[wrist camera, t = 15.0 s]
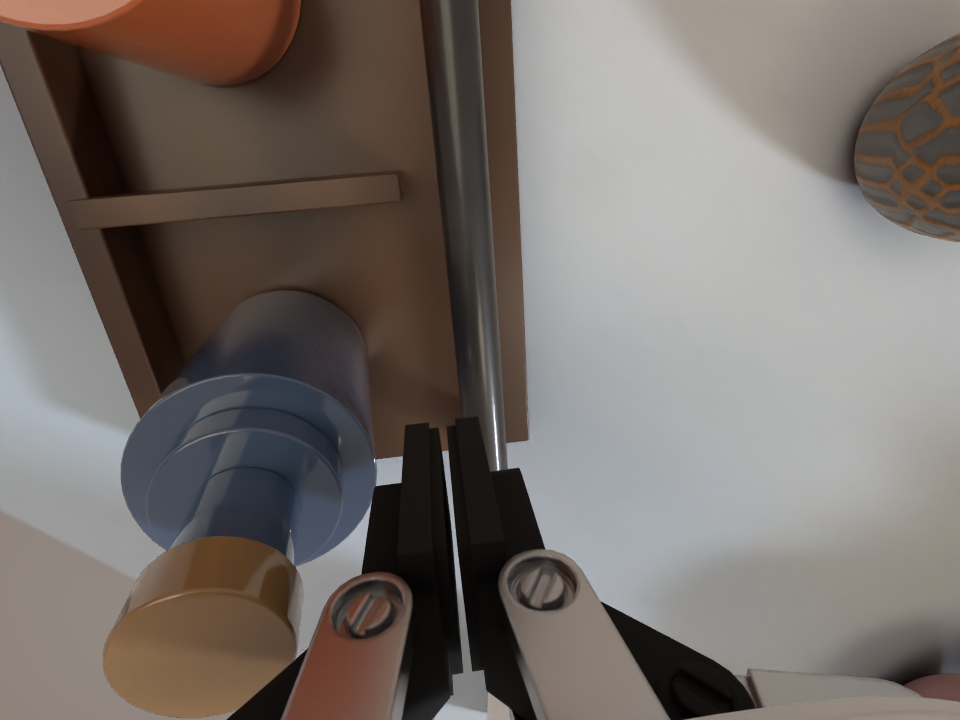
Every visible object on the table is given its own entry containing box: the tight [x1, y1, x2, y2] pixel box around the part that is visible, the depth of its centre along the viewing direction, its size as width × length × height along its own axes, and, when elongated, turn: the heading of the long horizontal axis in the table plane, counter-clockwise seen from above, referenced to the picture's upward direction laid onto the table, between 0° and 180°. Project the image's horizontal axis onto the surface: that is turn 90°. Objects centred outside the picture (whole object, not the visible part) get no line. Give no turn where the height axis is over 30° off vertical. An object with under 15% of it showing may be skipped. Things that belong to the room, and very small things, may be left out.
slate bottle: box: [103, 290, 377, 718], centre depth 13 cm, size 6×6×12 cm
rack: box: [0, 0, 529, 471], centre depth 15 cm, size 14×22×6 cm, turn 4°
